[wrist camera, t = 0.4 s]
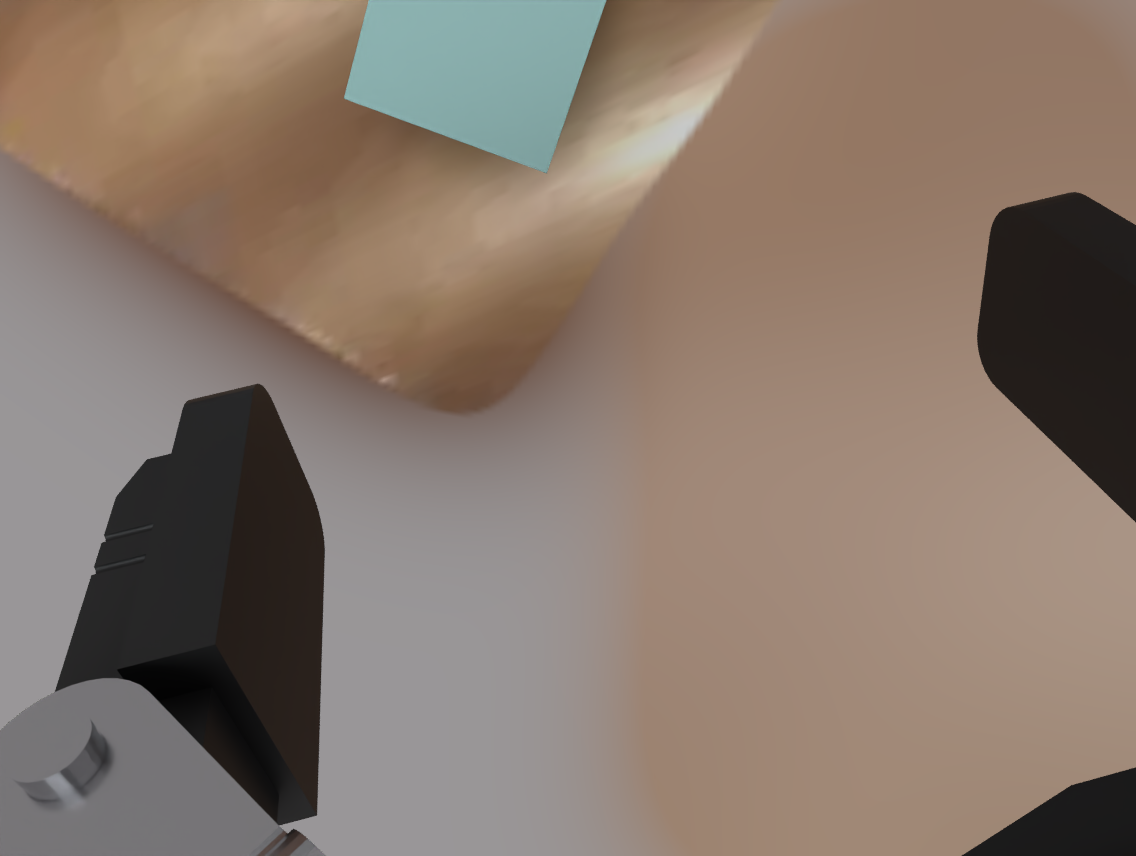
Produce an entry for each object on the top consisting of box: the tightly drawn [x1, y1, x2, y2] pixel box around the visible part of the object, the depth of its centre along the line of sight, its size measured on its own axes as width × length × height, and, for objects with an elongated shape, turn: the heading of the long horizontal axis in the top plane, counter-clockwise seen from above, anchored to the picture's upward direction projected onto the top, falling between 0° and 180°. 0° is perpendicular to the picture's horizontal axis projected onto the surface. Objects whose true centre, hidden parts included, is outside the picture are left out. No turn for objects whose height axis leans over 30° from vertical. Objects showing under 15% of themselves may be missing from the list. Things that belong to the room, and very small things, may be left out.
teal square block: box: [344, 0, 606, 173], centre depth 29 cm, size 6×6×9 cm
